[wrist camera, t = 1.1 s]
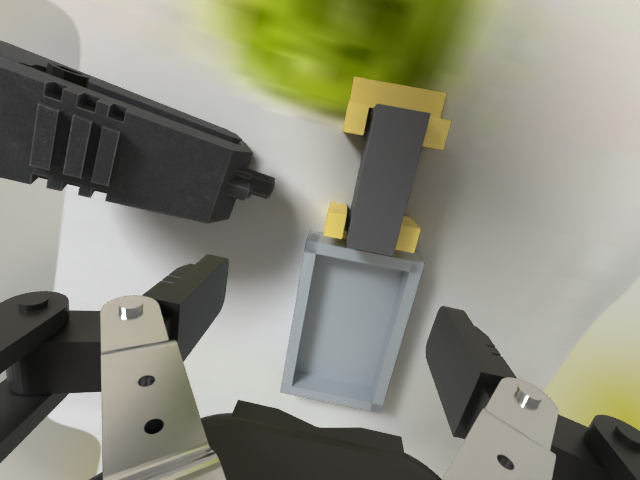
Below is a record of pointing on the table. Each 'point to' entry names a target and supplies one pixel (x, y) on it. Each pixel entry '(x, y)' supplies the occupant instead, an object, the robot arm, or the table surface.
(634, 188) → the table surface
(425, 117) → the grey slab
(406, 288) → the tray
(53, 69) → the tool
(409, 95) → the blocks
